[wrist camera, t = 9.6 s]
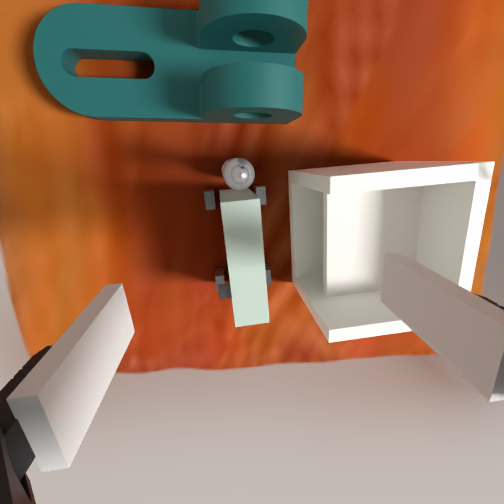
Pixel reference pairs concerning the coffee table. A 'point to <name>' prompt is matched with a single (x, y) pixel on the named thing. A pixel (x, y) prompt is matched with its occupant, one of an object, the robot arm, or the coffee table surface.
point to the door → (244, 257)
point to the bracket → (178, 60)
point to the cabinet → (380, 234)
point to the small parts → (237, 178)
